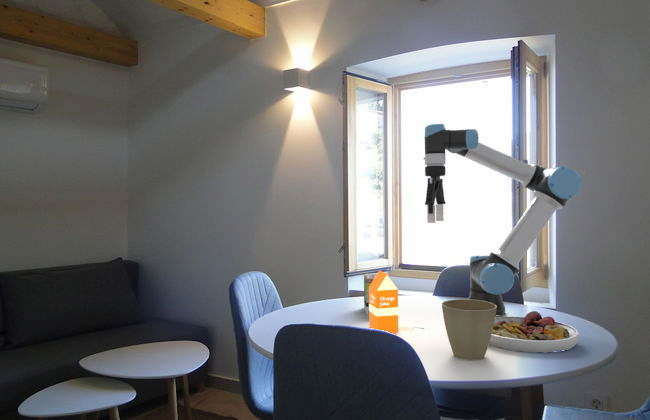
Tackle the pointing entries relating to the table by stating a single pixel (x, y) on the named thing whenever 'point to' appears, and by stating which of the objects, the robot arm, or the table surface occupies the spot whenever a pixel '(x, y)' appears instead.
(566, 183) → the robot arm
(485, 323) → the plant pot
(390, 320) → the orange juice
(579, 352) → the table surface
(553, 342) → the plate of food
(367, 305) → the tea box
